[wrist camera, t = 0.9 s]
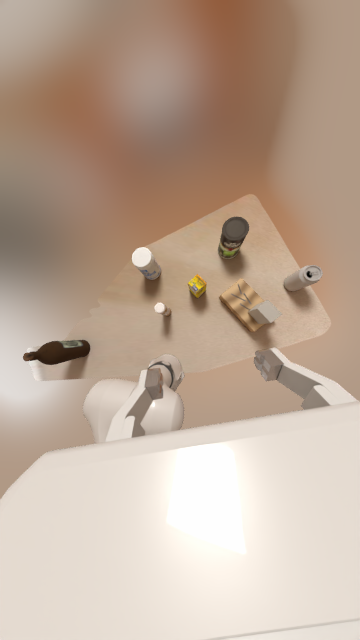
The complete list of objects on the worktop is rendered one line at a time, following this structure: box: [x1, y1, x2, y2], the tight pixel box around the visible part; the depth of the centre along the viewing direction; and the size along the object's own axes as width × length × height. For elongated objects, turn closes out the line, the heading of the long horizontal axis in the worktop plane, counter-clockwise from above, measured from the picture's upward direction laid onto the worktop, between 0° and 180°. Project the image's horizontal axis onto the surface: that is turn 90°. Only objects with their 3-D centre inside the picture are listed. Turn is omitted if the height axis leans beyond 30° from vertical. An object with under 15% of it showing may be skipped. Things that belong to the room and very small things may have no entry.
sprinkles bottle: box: [155, 303, 171, 316], centre depth 62 cm, size 5×5×13 cm
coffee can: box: [218, 217, 249, 259], centre depth 60 cm, size 10×10×14 cm
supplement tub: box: [132, 247, 161, 280], centre depth 65 cm, size 10×10×15 cm
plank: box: [219, 278, 264, 332], centre depth 61 cm, size 22×12×5 cm, turn 39°
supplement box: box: [188, 274, 206, 298], centre depth 62 cm, size 6×6×11 cm
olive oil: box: [23, 340, 90, 365], centre depth 63 cm, size 11×11×25 cm
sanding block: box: [248, 300, 282, 324], centre depth 52 cm, size 7×5×10 cm
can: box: [284, 265, 323, 291], centre depth 55 cm, size 8×8×12 cm
